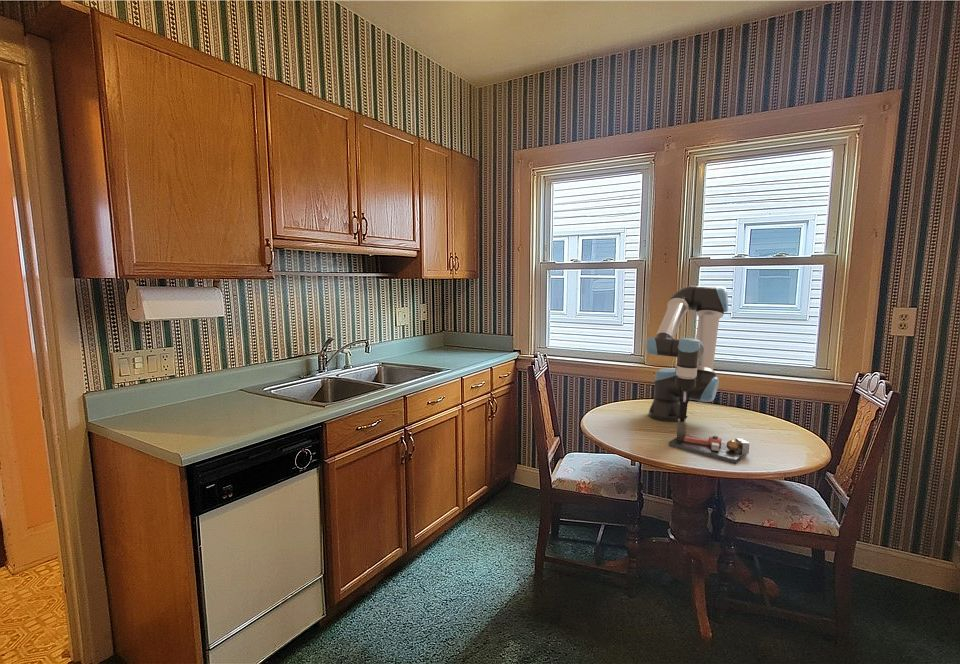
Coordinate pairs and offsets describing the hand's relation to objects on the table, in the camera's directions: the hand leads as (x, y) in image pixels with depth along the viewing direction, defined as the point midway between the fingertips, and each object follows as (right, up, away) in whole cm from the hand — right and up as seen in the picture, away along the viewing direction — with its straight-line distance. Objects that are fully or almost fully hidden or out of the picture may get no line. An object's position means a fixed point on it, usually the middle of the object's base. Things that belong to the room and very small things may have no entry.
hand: (680, 433), depth 184 cm
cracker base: (+6, -4, -9) cm, 12 cm away
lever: (+3, -2, -8) cm, 9 cm away
